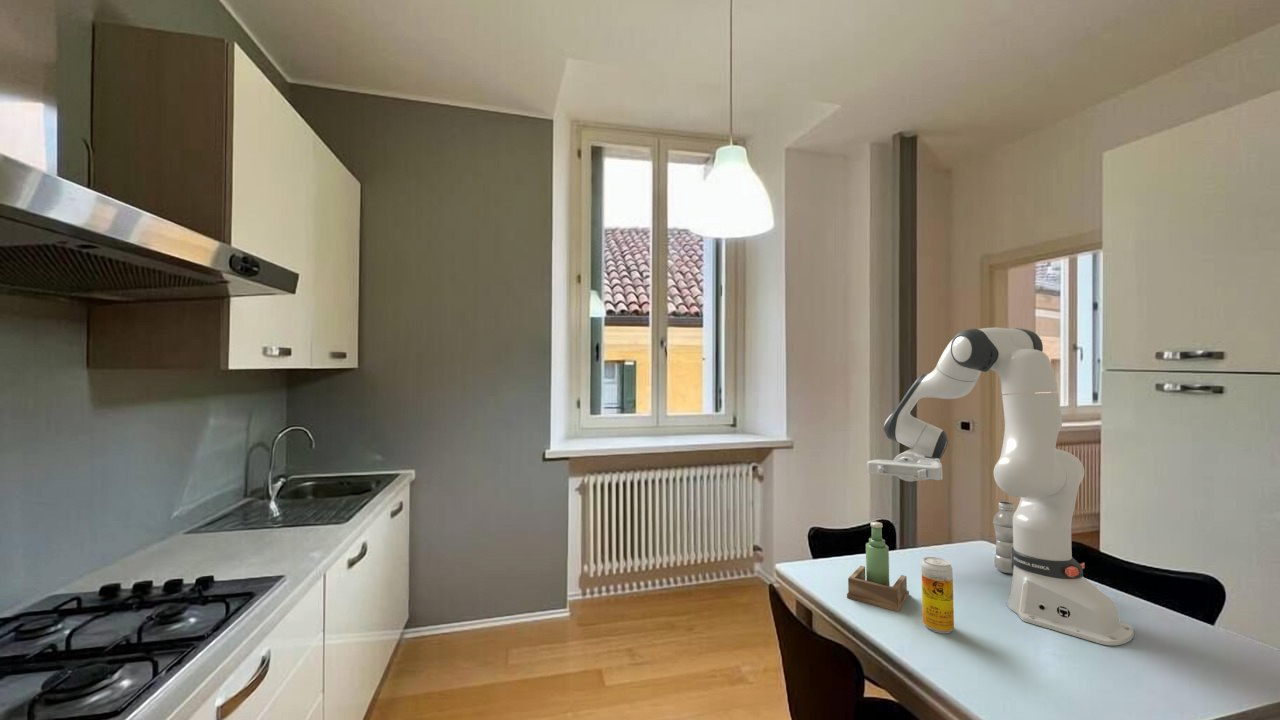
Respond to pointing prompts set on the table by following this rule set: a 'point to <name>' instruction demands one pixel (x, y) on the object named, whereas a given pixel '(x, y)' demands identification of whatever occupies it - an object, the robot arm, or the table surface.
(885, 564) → the bottle
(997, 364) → the robot arm
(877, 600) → the tray
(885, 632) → the table surface
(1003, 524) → the plastic bottle
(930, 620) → the beer can
